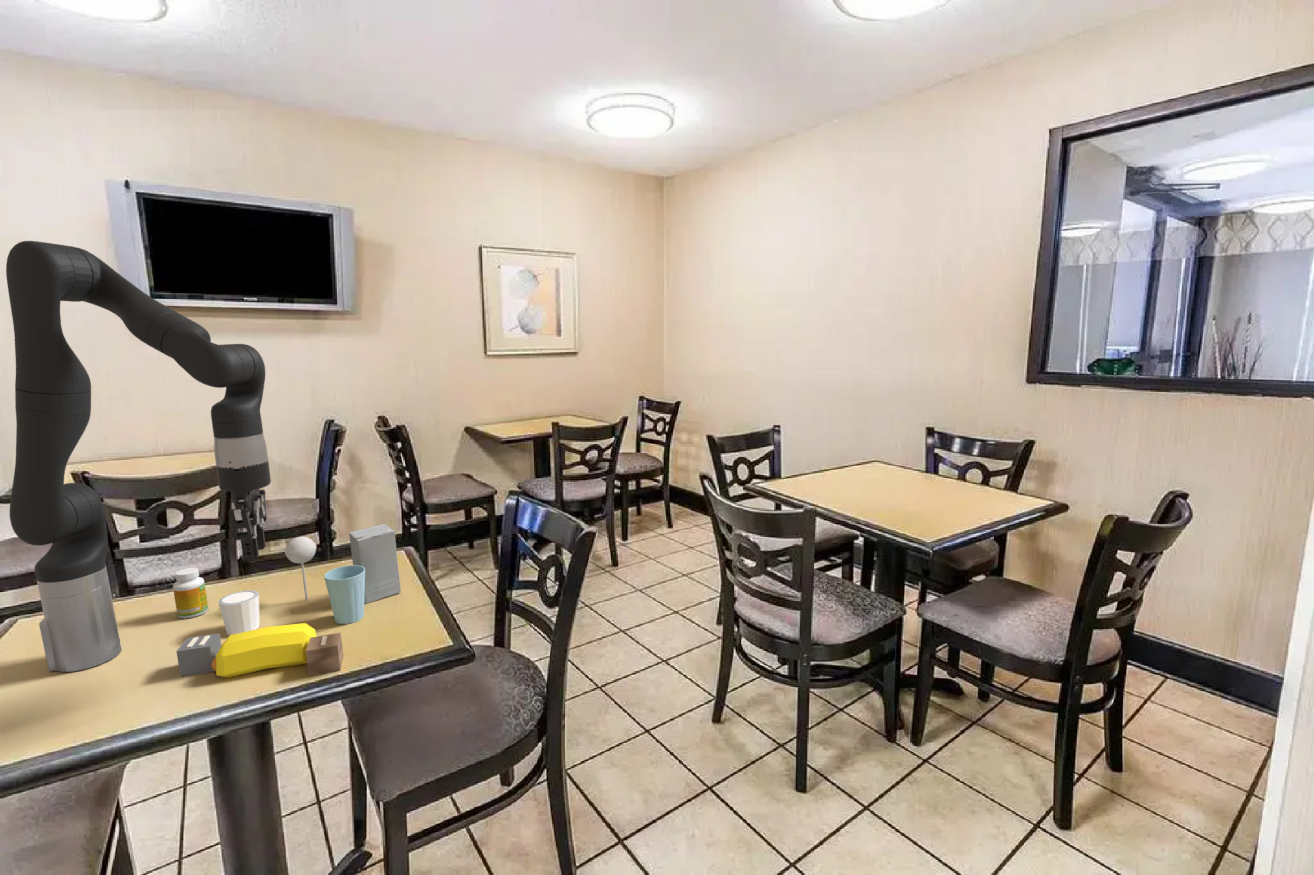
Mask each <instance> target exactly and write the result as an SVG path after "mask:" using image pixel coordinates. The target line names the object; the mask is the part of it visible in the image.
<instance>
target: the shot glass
mask: <svg viewBox="0 0 1314 875" xmlns="http://www.w3.org/2000/svg"><path fill="white" fill-rule="evenodd" d="M217 603H218V605H219V610H220V613H221V616H222V620H223V625H224V628H225V631H226V634H227V635H228V636H230V635H233V634H238V633H242V632H247V631H251V630H256V629H259V627H260V593H259V592H258V591H257V590H252V589H251V590H241V591H236V592H233V593H229V594H227V595H225V596H223V597H222V598H220V599H219V600H218V602H217Z"/></svg>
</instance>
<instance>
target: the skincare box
mask: <svg viewBox="0 0 1314 875" xmlns="http://www.w3.org/2000/svg"><path fill="white" fill-rule="evenodd" d="M348 534H349V542H350V551H351V560H352V565H358V566H362V567H364V568H365V595H364V605H365V604H366V605H367V604H370V603H372V602H375V601H379V600H382V599H384V598H388V597H390V596H394V595H397V594H400V593H401V592H402V591H401V590H402V589H401V579H400V572H399V570H400V569H399V561H398V552H397V543H396V531H395V530H394V529H393V528H391V527H390V526H388V525H387V524H386V523H382V524H377V525H374V526H370V527H366V528H363V529H358V530H353V531H350V532H349V533H348Z"/></svg>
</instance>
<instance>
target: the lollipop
mask: <svg viewBox="0 0 1314 875" xmlns="http://www.w3.org/2000/svg"><path fill="white" fill-rule="evenodd" d="M316 551H317V544H316V543H315V542H314V541H313V539H311V538H310V537H308V536H297V537H294V538H293V539H291V540H290V541H289V542H288V543H287V544H286V547H285V548H284V554H285V556H286V557H287V559H288V560H289V561H291V563H293V564H301V572H302V581H303V589H304V598H305V601H306V602H307V601H309V597H308V589H307V580H306V572H305V563H307V562H309V561H310V560H312V559H313V558H314V556H315V554H316Z"/></svg>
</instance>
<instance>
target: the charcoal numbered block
mask: <svg viewBox="0 0 1314 875" xmlns="http://www.w3.org/2000/svg"><path fill="white" fill-rule="evenodd" d="M220 634H221V633H213V634H206V635H198V636H197V635H196V636H192V637H191V636H190V637H187V638H186V639H185V640H184V642H182V644H181V645H180V647H179V648H178V649H177V650H176V656H177V663H178V664H177V665H178V669H179V674H180V677H182V678H183V677H187V676H188V677H189V676H193V675H194V676H196V675H200V674H206V673H212V672H215V671H214V670H213V668H212V666H211V664H212V661H213V659H214V658H216V654H217V653H218V651H219V649H220V647H221V645H222V640H221V635H220Z"/></svg>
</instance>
